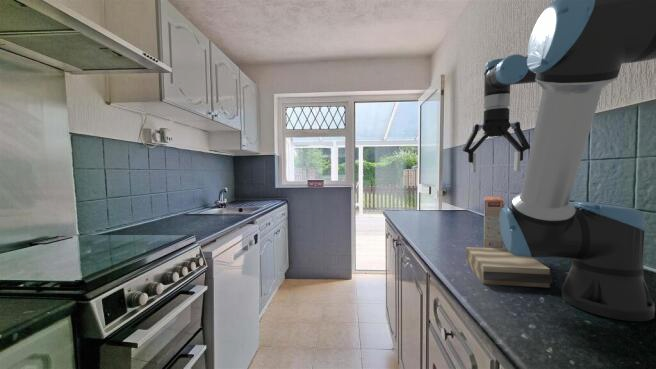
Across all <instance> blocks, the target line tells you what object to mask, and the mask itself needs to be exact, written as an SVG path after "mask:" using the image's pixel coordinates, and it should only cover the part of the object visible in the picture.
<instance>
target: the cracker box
mask: <svg viewBox="0 0 656 369" xmlns="http://www.w3.org/2000/svg"><path fill="white" fill-rule="evenodd" d="M502 208H505V206H504V199H503V197H502V196H494V195H493V196H488V195H487V196H484V204H483V209H484V210H483V248H504V241H503V238H502V234H501V229H500V218H499V217H500V211H501V209H502Z"/></svg>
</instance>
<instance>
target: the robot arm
mask: <svg viewBox="0 0 656 369" xmlns="http://www.w3.org/2000/svg"><path fill="white" fill-rule="evenodd" d="M652 60H656V0H553V1H552V2H551V3H549V5H547V7H545V9H544V10H543V11H542V12H541V14H540V16H539V18H537V20H536V22H535V25H534V27H533V29H532V31H531V34H530V38H529V40H528V44H527V50H526V56H524V55H521V54H519V53H518V54H512V55H511V54H510V55H509V56H506V57H503V58H502V57H501V58H496V59H492V60H489V61H487V62H486V63H485V65H484V73H483V75H484V84H483V85H484V87H483V88H484V90H483V91H484V92H483V93H484V95H483V96H484V97H483V100H484V101H483V109H484V111H483V123H482V124H478V123H476V124H473V126H472V132H471V134H469V137H468V139H467V140H466V143H465V144H464V146H463V149H462V151H463V152H465V153H467V154H468V155H467V156H468V163H470V168H471V170H470V171H471V173H476V171H477V170H476V169H477V164H476V163H477V153H475V152H476V151H477V149H478V148H479V147H480V146H481V145H482V144H483V142H484V141H485V140H487V138H488V137H489V138H491V137H493V138H494V137H503V138H505V139H506V140H507V141H508V142H509V143H510V144H511V145H512V147H513V148H514V149H515V150H516V151H514V152H513V154H514V156H513V158H514V159H513V171H515V172H520V168H521V162H522V161H523V160H524V153H525V151H526V150H529V149H530V150H529V154H528V155H529V156H528V160H527V164H526V170H525V176H524V181H523V185H522V191H521V193H518V194H516V195H515V196H514V197H513V198H512V201H511V206H504V208H502V209H501V211H500V217H499V218H500V229H501V234H502V238H503V245H504V246H505V248H507V249H508V251H509V252H510V253H511V254H513V255H516V256H525V257H529V258H531V257H532V258H548V259H549V258H550V259H552V258H554V259H568V260H569V259H571V267H570V270H569V272H568V273H567V276H566V278H565V280H564V283H563V284H562V287H561V296H562V297H561V298H562V299H563V300H564V301H565V302H566V303H568V304H570V305H571V306H573V307H575V308H577V309H579V310H582V311H584V312H588V313H590V314H594V315H597V316H601V317H604V318H609V319H613V320H620V321H627V322H628V321H629V322H647V321H651V320H653V319H655V313H656V310H655V309H656V308H655V303H654V302H653V298H652V296H651V293H650V291H649V288H648V286H647V284H646V281H645V279H644V266H645V265H644V264H645V263H644V262H645V235H646V234H645V233H646V232H647V229H646V223H645V216H644V213H643V212H642V211H641V210H639V209H636V208H633V207H627V206H622V205H615V204H608V203H600V202H592V201H579V200H575V201H573V202H572V203H571V201H570V199H571V196H572V194H573V189H574V187H575V183H576V180H577V176H578V172H579V169H580V167H581V162H582V159H583V156H584V152H585V149H586V145H587V142H588V139H589V135H590V132H591V128H592V125H593V121H594V118H595V114H596V110H597V107H598V105H599V101H600V97H601V94H602V90H603V89H604V87H606V86H608V85H609V84H611V83H613V82H614V81H616V80H617V79H618V77H619V74H620V71H621V68H622V65H623V64H629V63H630V64H631V63H637V62H646V61H652ZM533 83H537V84H538V85H539V87H541V89H542V91H541V96H540V102H539V105H538V111H537V116H536V119H535V120H536V121H535V125H534V132H533V136H532V140H531V145H530V144H529V142H528V140H527V138H526V136H525V135H524V132H523V130H522V129H521V122H520V121H515V122H511V123H510V110H511V109H510V108H509V107H510V106H511V85H512V86H513V85H524V84H533ZM510 128H511V129H512V130H513V132H514V133H515V135H516V137H517V139H518V141H517V140H516V138H515V137H513V135H512V134H511V133H510V132H509V131H508V130H509V129H510ZM481 129H482V130H483V131H484V132H483V133H482V135H480V137H479V138H478V139H477V141H475V143H474V144H473V142H474V140H475V139H476V136H477V134H478V133H479V132H480V131H481ZM472 144H473V145H472Z"/></svg>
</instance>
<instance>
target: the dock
mask: <svg viewBox="0 0 656 369" xmlns="http://www.w3.org/2000/svg"><path fill="white" fill-rule="evenodd" d="M465 262H466V263H467V265H468V266H469V268H470V269H471V270H472V271H473V273H474V274H475V275H476V276H477V278H478V279H479V281H480V282H481V284H483V285H496V286H497V285H498V286H514V287H515V286H516V287H517V286H518V287H533V288H534V287H535V288H548V289H549V288H550V287H551V286H550V284H553V279H552V278H553V276H552V275H551V269H550V268H549V267H548V266H546V265H545V264H543V263H541V262H540V261H539V260H537V259H536V258H535V257H531V258H529V257H525V256H516V255H513V254H511V253H510V252H509V251H508V249H507V248H506V247H505V248H504V247H503V248H484V247H474V246H473V247H472V246H471V247H469V246H467V247H465Z"/></svg>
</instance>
